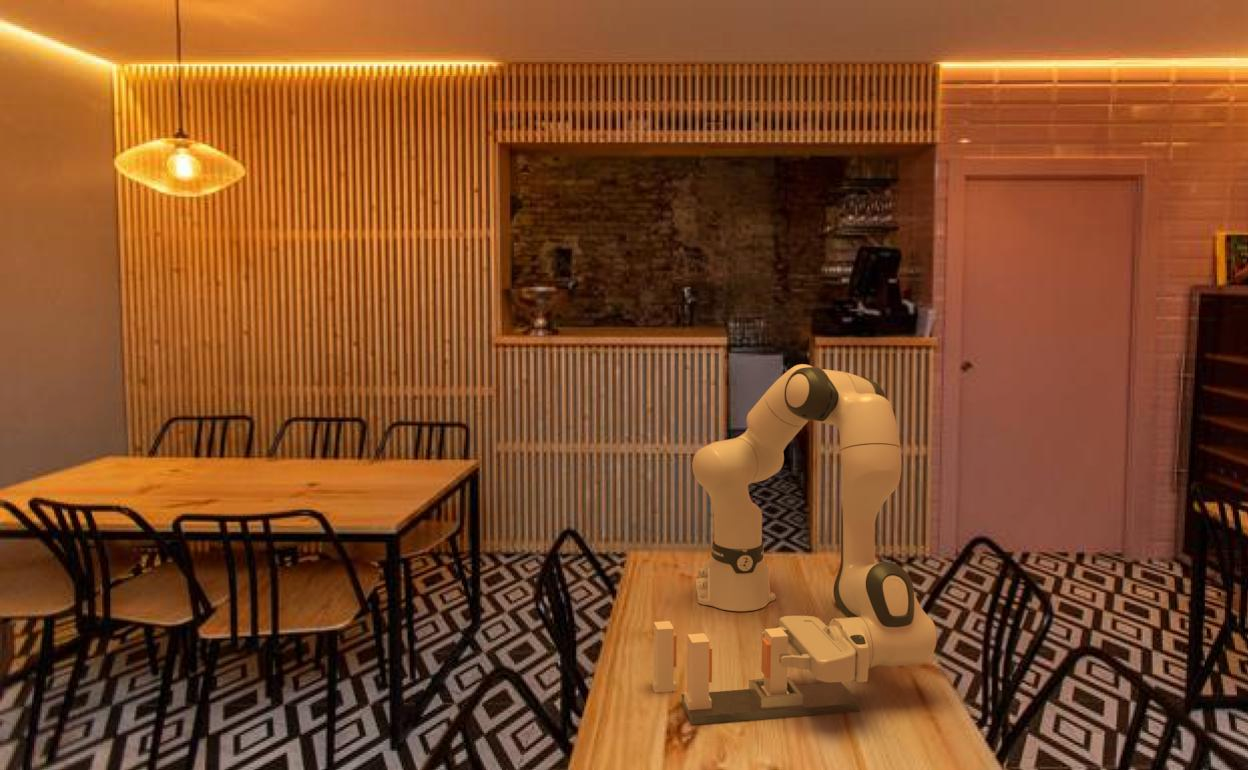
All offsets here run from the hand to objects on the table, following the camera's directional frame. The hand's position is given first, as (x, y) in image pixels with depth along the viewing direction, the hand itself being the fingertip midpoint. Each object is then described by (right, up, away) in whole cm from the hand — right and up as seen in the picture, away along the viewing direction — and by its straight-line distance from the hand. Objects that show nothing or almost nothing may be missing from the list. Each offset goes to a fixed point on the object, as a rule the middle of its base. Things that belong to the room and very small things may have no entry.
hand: (771, 648), depth 146 cm
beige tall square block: (+1, -9, +1) cm, 9 cm away
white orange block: (-18, -10, +8) cm, 22 cm away
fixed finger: (-13, -9, -1) cm, 16 cm away
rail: (0, -10, +1) cm, 11 cm away
